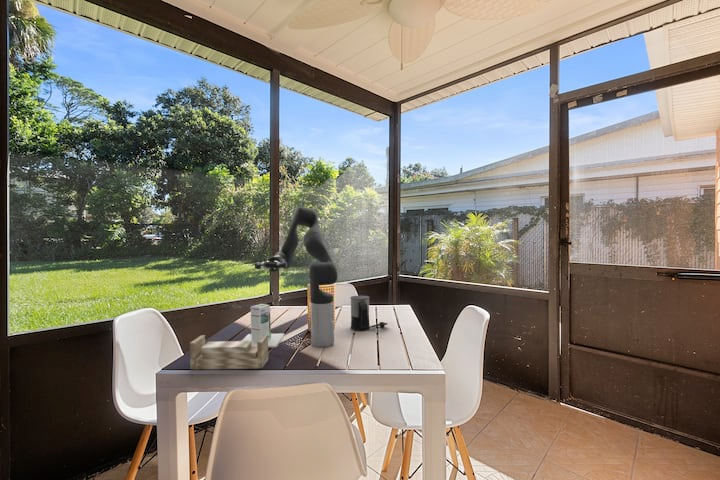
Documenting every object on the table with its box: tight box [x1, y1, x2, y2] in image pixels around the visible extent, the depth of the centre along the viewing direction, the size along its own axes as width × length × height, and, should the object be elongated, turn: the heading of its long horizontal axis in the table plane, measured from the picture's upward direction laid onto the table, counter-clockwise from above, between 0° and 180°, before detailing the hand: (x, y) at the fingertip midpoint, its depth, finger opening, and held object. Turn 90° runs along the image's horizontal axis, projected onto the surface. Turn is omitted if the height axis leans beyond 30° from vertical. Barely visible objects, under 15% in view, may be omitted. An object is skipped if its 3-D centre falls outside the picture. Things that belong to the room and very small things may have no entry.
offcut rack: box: [189, 334, 269, 370], centre depth 116 cm, size 24×8×9 cm, turn 91°
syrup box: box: [250, 303, 272, 342], centre depth 140 cm, size 6×6×14 cm
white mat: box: [241, 333, 285, 349], centre depth 140 cm, size 16×16×1 cm
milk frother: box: [350, 295, 388, 331], centre depth 157 cm, size 14×16×15 cm
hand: (267, 267), depth 151 cm, fingers open, 8 cm apart
